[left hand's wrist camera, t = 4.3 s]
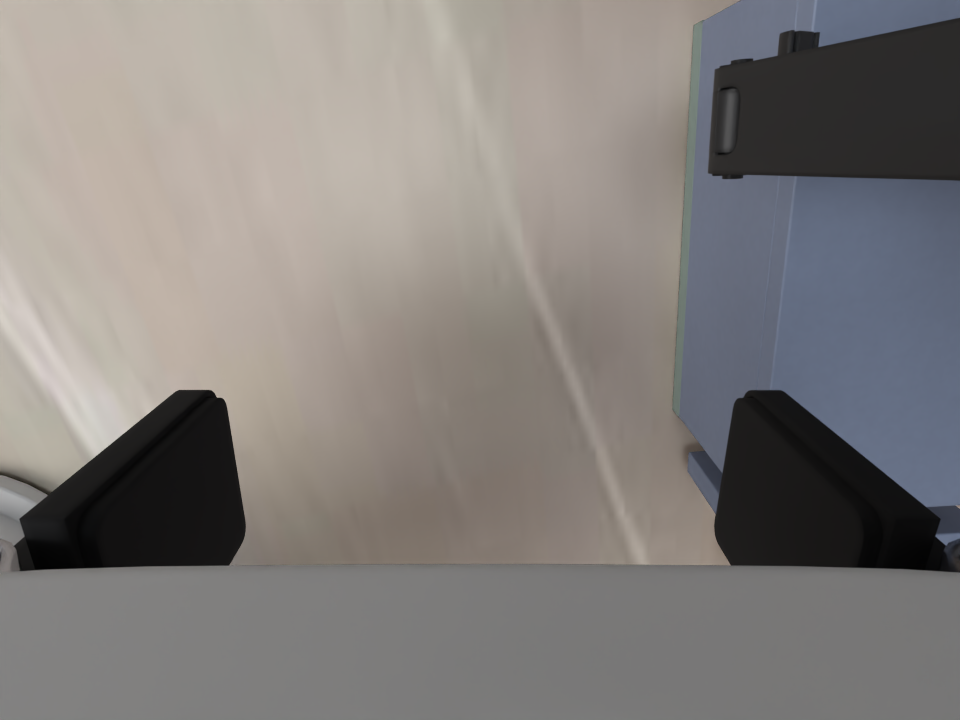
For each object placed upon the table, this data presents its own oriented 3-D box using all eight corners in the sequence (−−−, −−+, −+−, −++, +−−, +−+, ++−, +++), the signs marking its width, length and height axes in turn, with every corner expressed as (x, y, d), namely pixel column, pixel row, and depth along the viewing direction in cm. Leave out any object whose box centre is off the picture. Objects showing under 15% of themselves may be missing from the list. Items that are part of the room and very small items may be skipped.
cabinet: (875, 397, 31) (1043, 501, 22) (672, 409, 31) (755, 518, 22) (945, 8, 25) (1219, -72, 16) (693, 25, 25) (820, -45, 16)
